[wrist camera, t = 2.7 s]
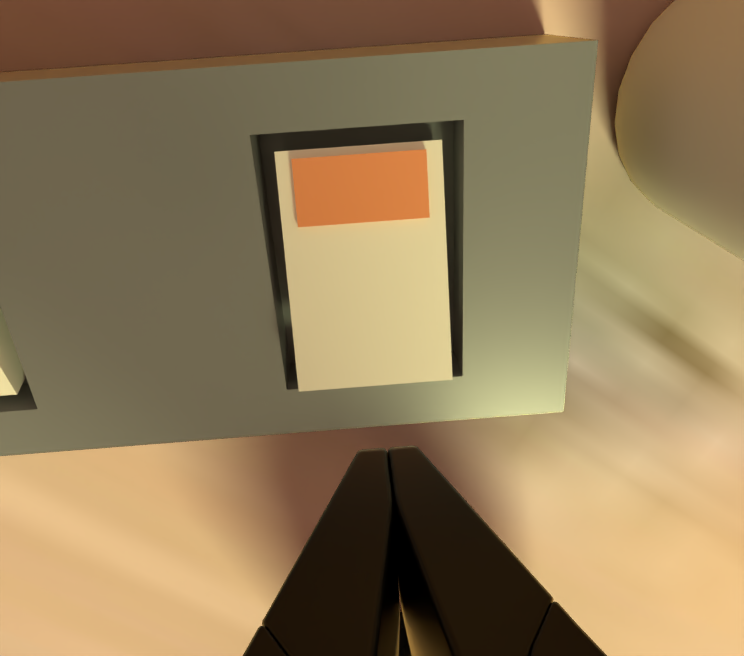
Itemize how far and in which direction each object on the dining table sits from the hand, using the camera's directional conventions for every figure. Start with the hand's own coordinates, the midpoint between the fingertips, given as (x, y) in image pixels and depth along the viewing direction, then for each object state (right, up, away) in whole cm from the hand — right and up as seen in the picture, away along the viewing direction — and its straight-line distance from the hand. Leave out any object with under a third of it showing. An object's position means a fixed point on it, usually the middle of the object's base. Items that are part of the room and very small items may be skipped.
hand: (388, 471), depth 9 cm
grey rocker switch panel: (-7, +5, +11) cm, 13 cm away
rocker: (0, +4, +7) cm, 8 cm away
